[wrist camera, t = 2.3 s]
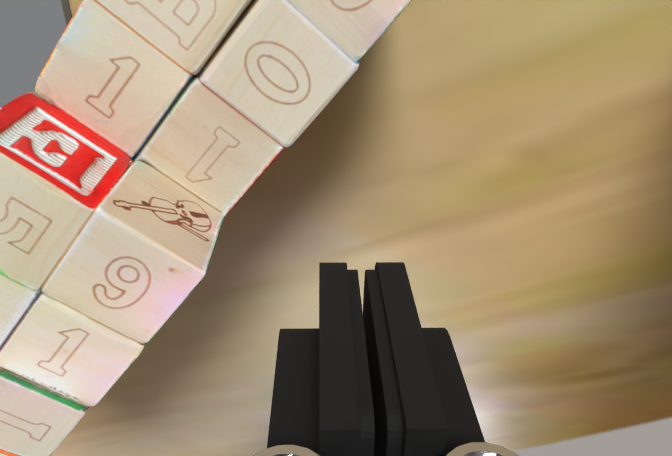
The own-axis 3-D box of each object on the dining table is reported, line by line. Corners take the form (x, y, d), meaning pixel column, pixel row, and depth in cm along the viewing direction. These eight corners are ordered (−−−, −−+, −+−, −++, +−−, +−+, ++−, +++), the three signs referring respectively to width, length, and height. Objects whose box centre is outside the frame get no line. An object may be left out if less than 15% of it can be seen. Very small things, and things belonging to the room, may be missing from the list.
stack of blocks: (268, -175, 18) (216, -341, 7) (393, -42, 20) (491, -23, 10) (2, 228, 25) (-220, 440, 15) (116, 293, 28) (-4, 517, 17)
